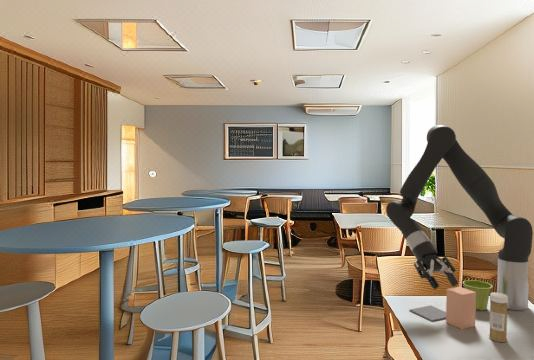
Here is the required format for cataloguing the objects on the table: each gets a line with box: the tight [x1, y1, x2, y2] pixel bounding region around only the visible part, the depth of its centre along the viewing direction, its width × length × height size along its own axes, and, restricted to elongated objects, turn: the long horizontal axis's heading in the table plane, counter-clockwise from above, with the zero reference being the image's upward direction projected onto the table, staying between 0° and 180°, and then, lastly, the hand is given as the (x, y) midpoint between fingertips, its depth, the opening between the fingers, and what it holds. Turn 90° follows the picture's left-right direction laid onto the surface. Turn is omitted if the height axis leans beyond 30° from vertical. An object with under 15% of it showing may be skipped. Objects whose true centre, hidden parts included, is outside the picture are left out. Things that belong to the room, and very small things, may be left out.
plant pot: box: [462, 279, 493, 311], centre depth 137 cm, size 9×9×9 cm
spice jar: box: [488, 291, 508, 343], centre depth 112 cm, size 5×5×13 cm
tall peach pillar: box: [445, 286, 477, 330], centre depth 123 cm, size 6×6×11 cm
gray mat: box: [409, 304, 446, 322], centre depth 131 cm, size 10×10×1 cm
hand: (446, 286), depth 128 cm, fingers open, 8 cm apart
